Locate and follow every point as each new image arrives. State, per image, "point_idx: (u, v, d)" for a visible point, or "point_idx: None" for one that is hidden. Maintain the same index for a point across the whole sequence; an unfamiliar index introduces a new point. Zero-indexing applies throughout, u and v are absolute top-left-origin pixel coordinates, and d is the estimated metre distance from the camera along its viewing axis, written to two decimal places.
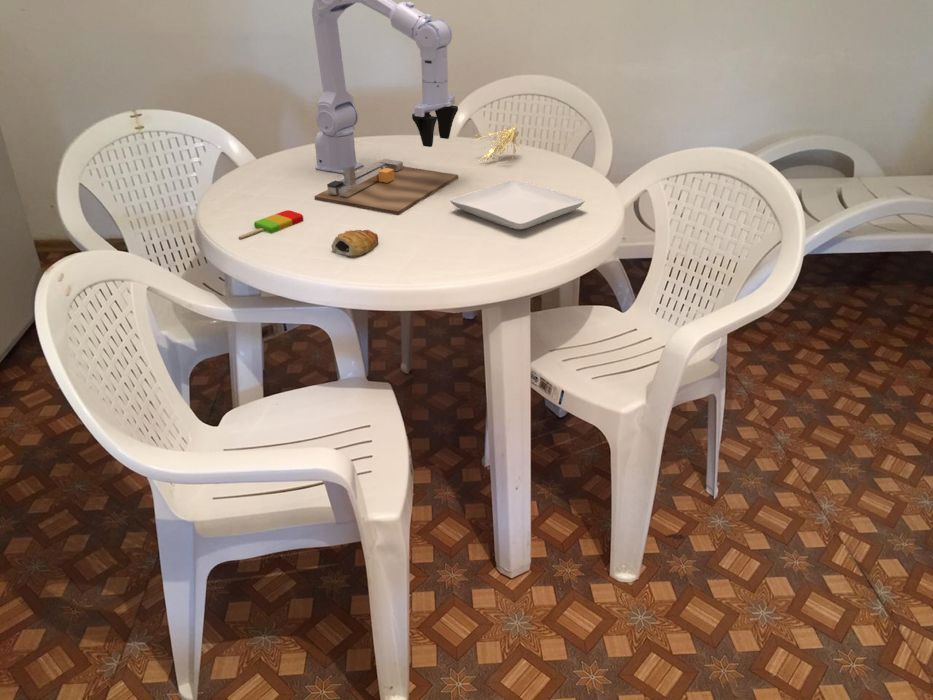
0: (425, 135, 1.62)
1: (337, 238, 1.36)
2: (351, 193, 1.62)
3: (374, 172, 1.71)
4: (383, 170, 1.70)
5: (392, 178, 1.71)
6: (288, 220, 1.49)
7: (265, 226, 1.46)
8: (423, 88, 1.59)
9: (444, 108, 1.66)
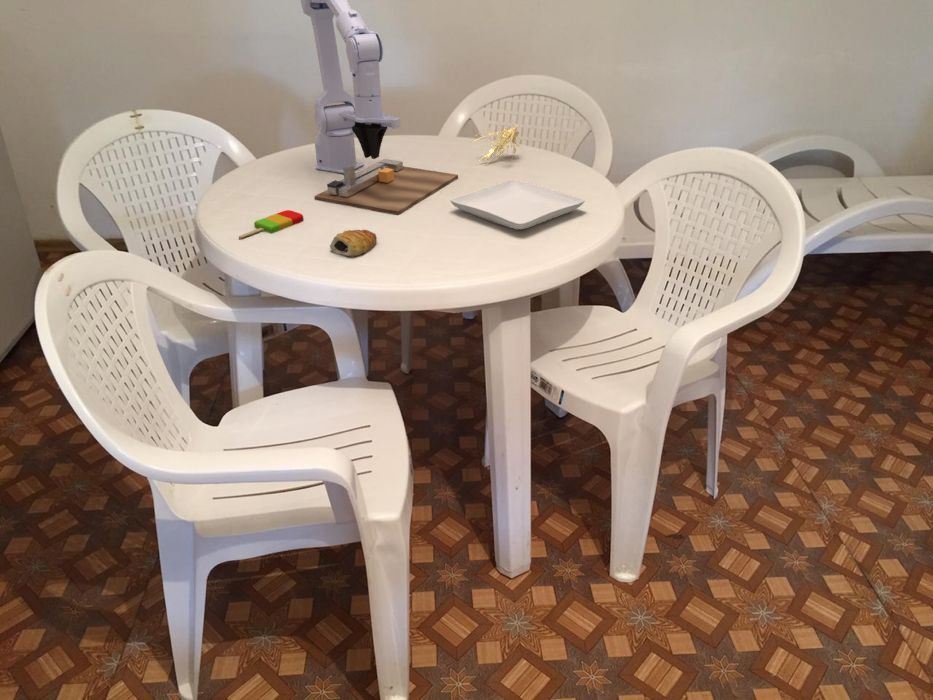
0: None
1: (336, 238, 1.36)
2: (351, 193, 1.62)
3: (374, 172, 1.71)
4: (383, 170, 1.70)
5: (392, 178, 1.71)
6: (288, 220, 1.49)
7: (265, 226, 1.46)
8: None
9: None
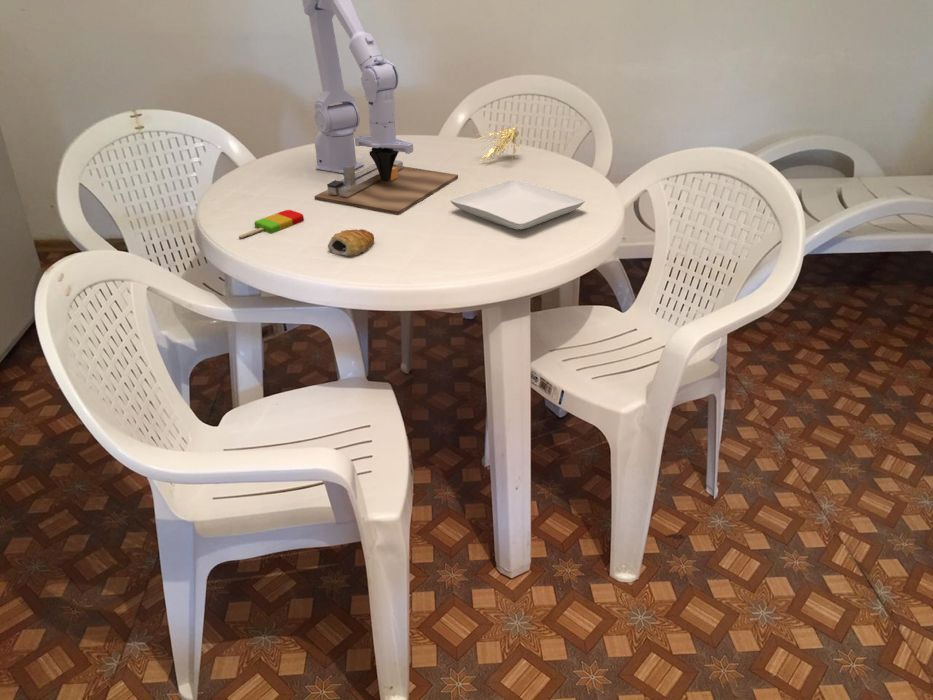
0: None
1: (334, 238, 1.36)
2: (351, 193, 1.62)
3: (374, 172, 1.71)
4: None
5: (396, 176, 1.72)
6: (289, 220, 1.49)
7: (265, 225, 1.46)
8: None
9: None
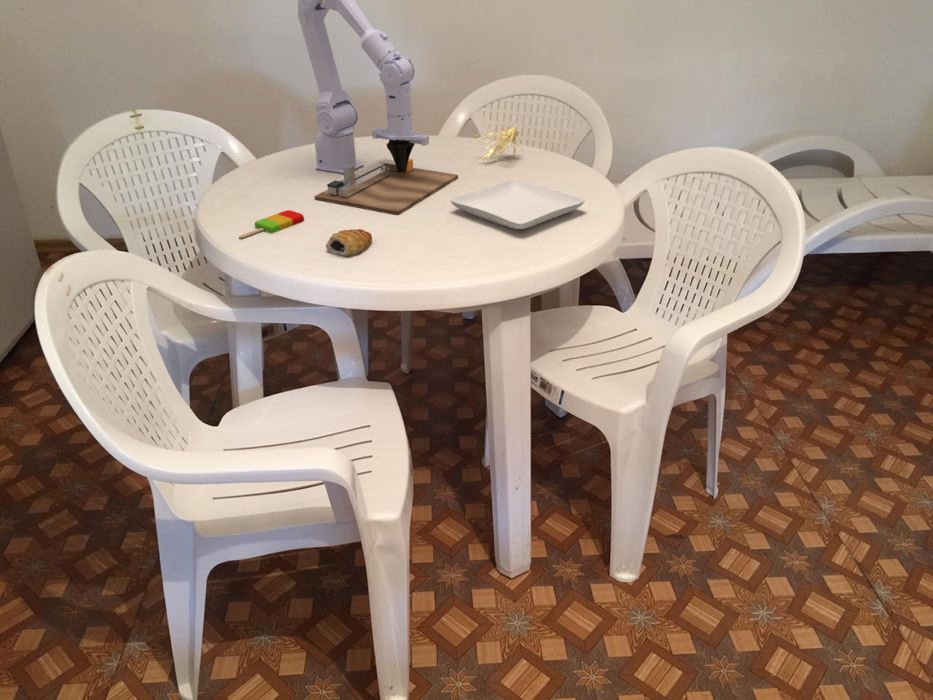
0: None
1: (332, 238, 1.36)
2: (351, 193, 1.62)
3: (374, 172, 1.71)
4: None
5: (411, 168, 1.78)
6: (289, 220, 1.49)
7: (265, 226, 1.46)
8: None
9: None
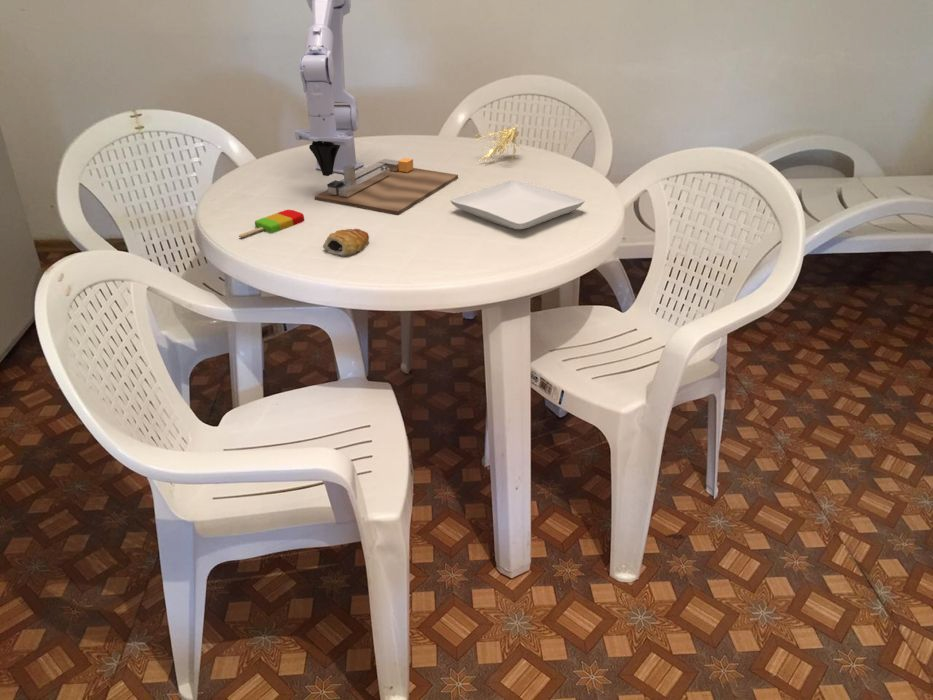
0: None
1: (329, 238, 1.36)
2: (351, 193, 1.62)
3: (374, 172, 1.71)
4: (403, 160, 1.77)
5: (411, 168, 1.78)
6: (289, 219, 1.49)
7: (265, 225, 1.46)
8: None
9: None
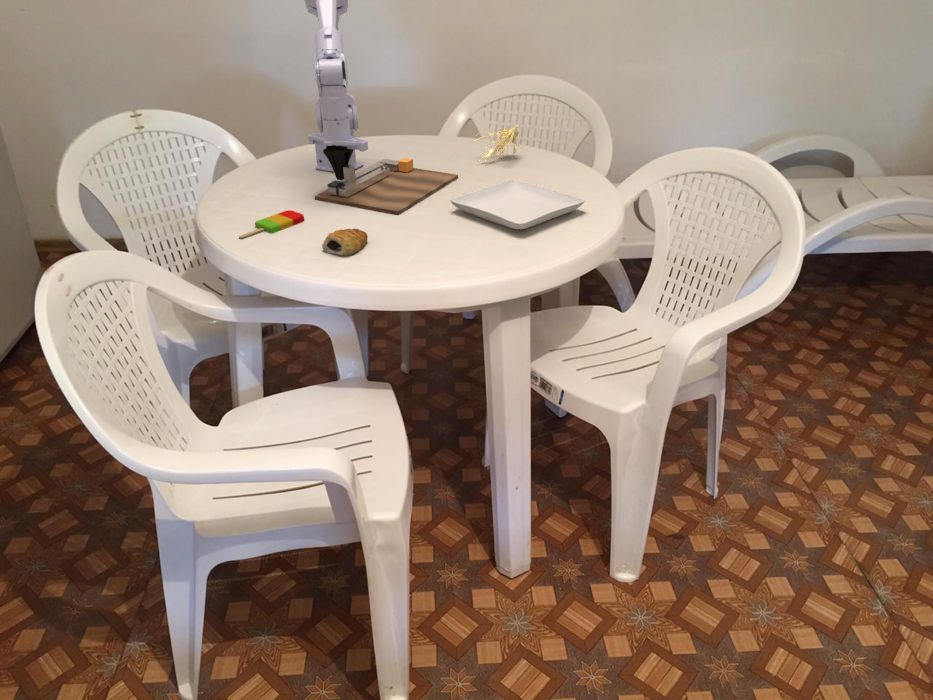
0: None
1: (328, 237, 1.36)
2: (351, 193, 1.62)
3: (374, 172, 1.71)
4: (403, 160, 1.77)
5: (411, 168, 1.78)
6: (289, 220, 1.49)
7: (265, 226, 1.46)
8: None
9: None
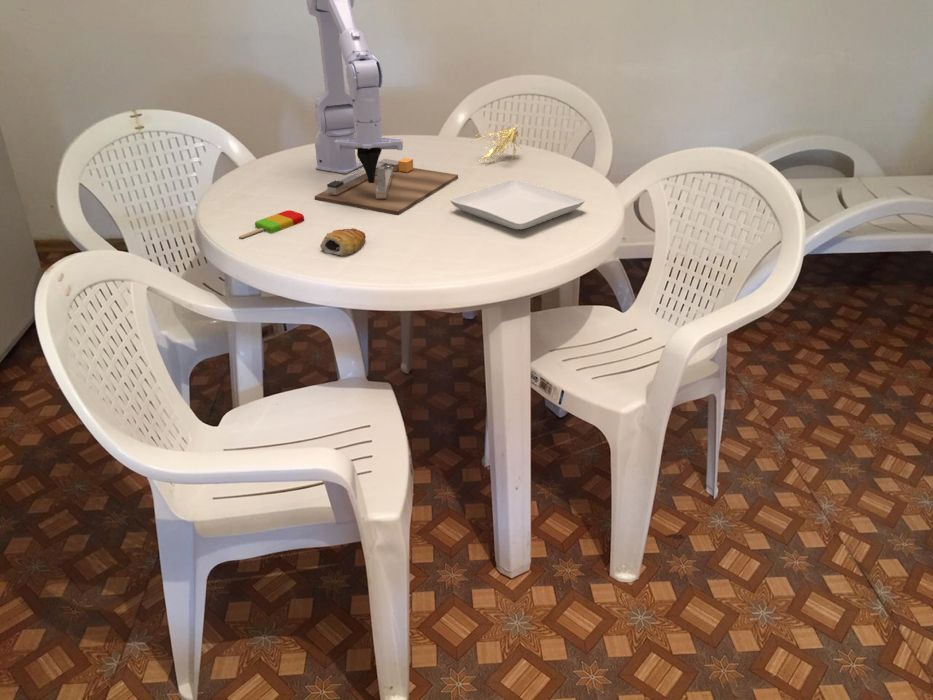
0: None
1: (327, 237, 1.36)
2: (386, 194, 1.61)
3: (385, 172, 1.71)
4: (403, 160, 1.77)
5: (411, 168, 1.78)
6: (289, 220, 1.49)
7: (265, 226, 1.46)
8: None
9: (369, 151, 1.58)
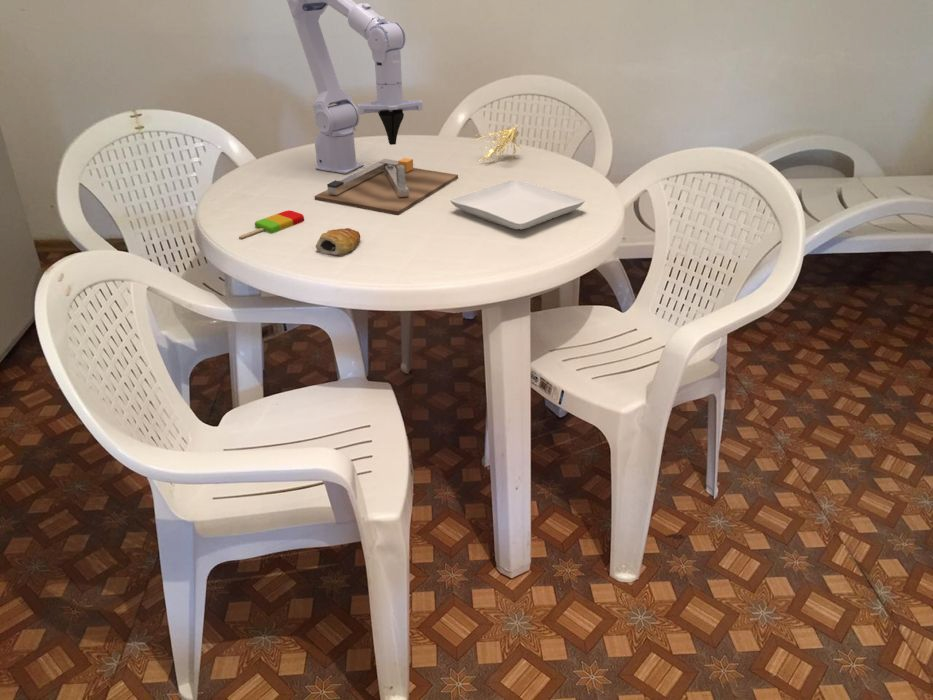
0: (388, 132, 1.67)
1: (322, 238, 1.36)
2: None
3: (391, 171, 1.71)
4: (403, 160, 1.77)
5: (411, 168, 1.78)
6: (289, 220, 1.49)
7: (265, 226, 1.46)
8: None
9: (391, 113, 1.64)
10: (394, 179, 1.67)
